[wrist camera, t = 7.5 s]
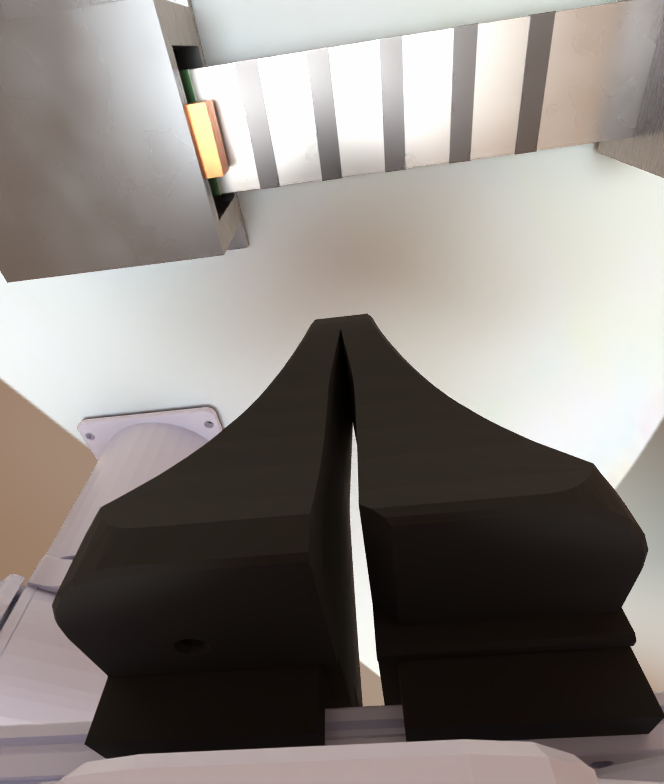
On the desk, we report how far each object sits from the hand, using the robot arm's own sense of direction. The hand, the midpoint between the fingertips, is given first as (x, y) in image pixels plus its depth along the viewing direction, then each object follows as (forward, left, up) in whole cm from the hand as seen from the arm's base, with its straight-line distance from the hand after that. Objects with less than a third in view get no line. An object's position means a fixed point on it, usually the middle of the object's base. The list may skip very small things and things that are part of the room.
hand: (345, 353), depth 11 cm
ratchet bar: (+4, -2, -10) cm, 11 cm away
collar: (+4, +8, -10) cm, 14 cm away
